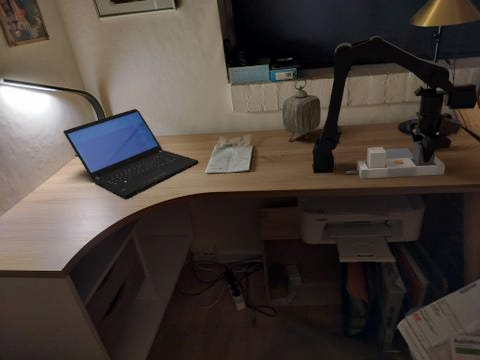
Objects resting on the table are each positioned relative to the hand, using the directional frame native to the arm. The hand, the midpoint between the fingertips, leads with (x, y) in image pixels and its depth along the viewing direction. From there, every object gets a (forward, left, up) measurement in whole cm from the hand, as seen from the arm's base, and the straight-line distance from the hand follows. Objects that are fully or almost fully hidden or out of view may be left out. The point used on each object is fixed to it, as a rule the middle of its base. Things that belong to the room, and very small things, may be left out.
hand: (423, 159), depth 102 cm
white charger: (-14, 0, -4) cm, 15 cm away
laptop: (-101, +14, -4) cm, 102 cm away
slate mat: (-4, +12, -4) cm, 13 cm away
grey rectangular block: (0, 0, -4) cm, 4 cm away
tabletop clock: (-35, +35, -4) cm, 50 cm away
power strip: (-9, 0, -4) cm, 10 cm away
